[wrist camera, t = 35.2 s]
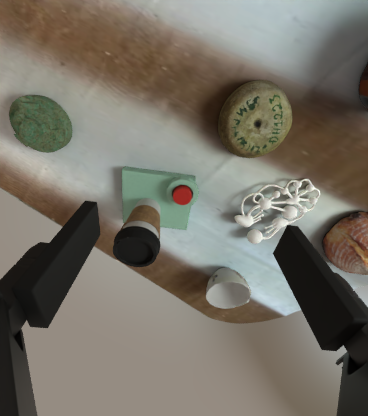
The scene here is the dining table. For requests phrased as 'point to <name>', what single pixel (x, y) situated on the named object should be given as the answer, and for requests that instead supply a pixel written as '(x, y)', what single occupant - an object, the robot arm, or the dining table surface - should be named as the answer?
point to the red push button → (182, 195)
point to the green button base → (158, 194)
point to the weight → (254, 119)
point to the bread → (349, 244)
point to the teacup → (227, 289)
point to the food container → (364, 88)
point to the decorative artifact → (40, 123)
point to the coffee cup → (139, 235)
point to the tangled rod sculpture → (287, 211)
